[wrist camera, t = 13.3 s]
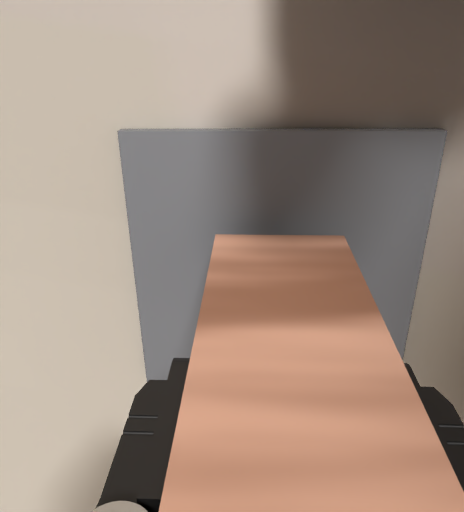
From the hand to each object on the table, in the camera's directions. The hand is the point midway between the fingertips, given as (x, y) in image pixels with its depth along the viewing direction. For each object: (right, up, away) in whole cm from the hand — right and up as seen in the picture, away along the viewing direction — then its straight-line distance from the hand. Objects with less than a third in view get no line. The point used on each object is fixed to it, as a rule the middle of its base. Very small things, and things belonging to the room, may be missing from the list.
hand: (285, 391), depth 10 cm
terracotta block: (0, +2, +4) cm, 5 cm away
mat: (0, +3, +6) cm, 6 cm away
